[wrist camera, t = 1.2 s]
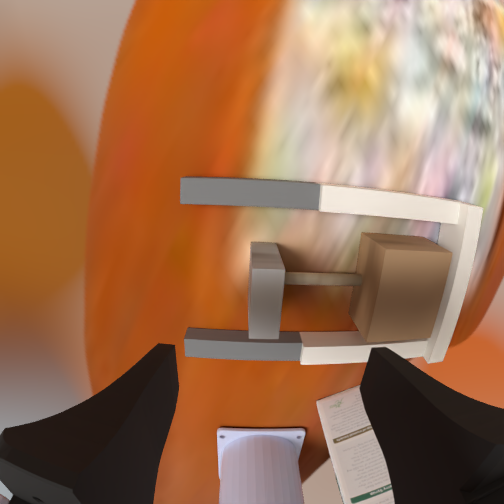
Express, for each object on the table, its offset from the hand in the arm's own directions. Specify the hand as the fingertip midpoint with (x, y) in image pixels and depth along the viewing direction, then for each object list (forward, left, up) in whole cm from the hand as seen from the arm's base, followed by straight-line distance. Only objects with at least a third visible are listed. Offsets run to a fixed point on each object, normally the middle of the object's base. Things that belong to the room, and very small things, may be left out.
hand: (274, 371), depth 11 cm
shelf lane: (0, -8, -10) cm, 13 cm away
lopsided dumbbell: (0, -5, -10) cm, 12 cm away
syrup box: (-13, -9, -10) cm, 19 cm away
